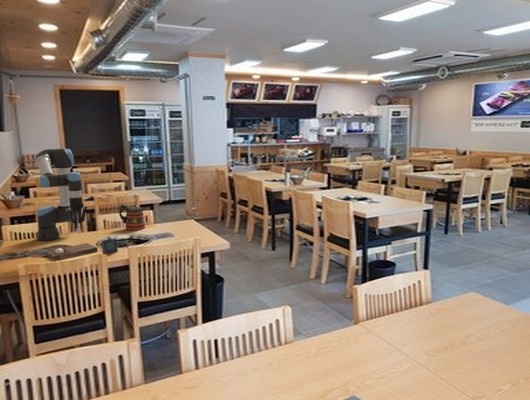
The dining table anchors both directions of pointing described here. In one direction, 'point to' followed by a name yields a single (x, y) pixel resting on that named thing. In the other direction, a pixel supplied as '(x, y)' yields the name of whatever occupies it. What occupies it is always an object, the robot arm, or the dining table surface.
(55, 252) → the ball
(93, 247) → the board
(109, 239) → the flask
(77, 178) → the robot arm
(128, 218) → the beer stein
